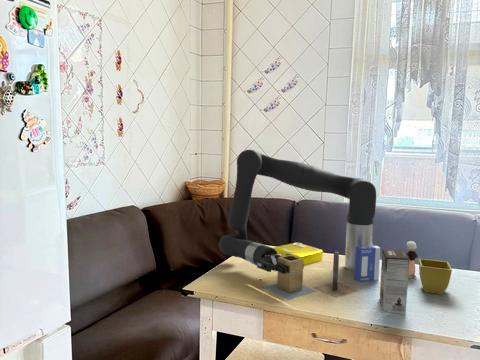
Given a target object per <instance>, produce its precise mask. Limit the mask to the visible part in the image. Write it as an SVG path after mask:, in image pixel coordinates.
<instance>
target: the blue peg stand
mask: <svg viewBox="0 0 480 360" xmlns="http://www.w3.org/2000/svg"><path fill="white" fill-rule="evenodd" d="M263 288H264V289H266V290H268V291H270V292H272V293H274V294H276V295H278V296H280V297H283V298H285V300H293V299H296V298H300V297H302V296H306V295H308V294H313V293H316V292H317V289H314V288H311V287H308V286H306V285H304V284H302V290H300V291H297V292H293V293H290V294H289V293H287V292H285V291H282V290H280V289H278V288H277V283H273V284H271V285H270V284H269V285H267V286H263Z"/></svg>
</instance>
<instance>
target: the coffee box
mask: <svg viewBox="0 0 480 360" xmlns="http://www.w3.org/2000/svg"><path fill="white" fill-rule="evenodd" d="M381 253H382V255H381V267H380V284H379V302H380V304H381V309H382V311H384V312H388V313H392V314H402V315H406V314H407V302H408V301H407V299H408V285H409V278H408V275H409V261H410V259H409V257H408V255H407V252H406V250H405V249H399V248H398V249H397V248H396V249H395V248H382V252H381Z"/></svg>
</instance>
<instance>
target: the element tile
mask: <svg viewBox="0 0 480 360" xmlns="http://www.w3.org/2000/svg"><path fill="white" fill-rule="evenodd" d="M273 248H274V249H275V250H276V252H277V254H281V255H284V256H286V254H287V253H289V254H291V255H294V256H296V257H299V258H302V259H304V260H303V263H304V266H307V265H311V264H314V262H315V263H317V262H322V261H323V253H324V250H323V249H320V248H317V247H314V246H311V245H307V244H304V243H301V242H293V243H288V244H282V245H279V246H278V245H277V246H274V247H273ZM321 260H322V261H321Z"/></svg>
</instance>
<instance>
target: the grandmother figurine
mask: <svg viewBox="0 0 480 360" xmlns="http://www.w3.org/2000/svg"><path fill="white" fill-rule="evenodd" d="M406 247H407V248H406V249H407V250H408V252H406V254H407V255H408V257H409V259H410V261H409V275H408V279H412V278H415V277H416V276H417V275H416V265H415V264H416V263H415V262H419V257H418V254H417V252H416V251H415V250H416V249H417V248H418V247H417V244H416V242H415V241H413V240H409V241H407V242H406Z"/></svg>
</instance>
